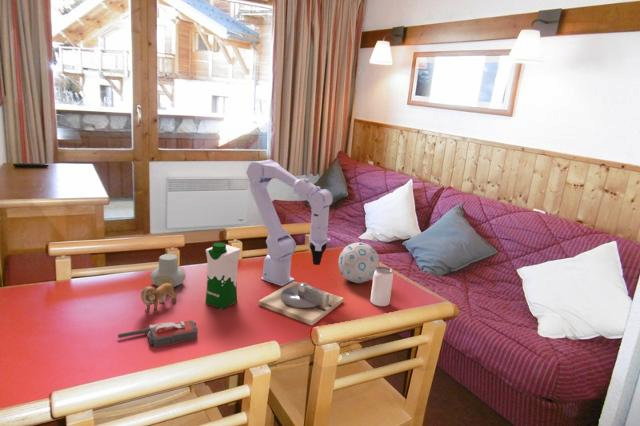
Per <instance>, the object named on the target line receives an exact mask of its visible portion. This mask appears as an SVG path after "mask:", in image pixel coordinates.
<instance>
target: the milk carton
mask: <svg viewBox="0 0 640 426" xmlns="http://www.w3.org/2000/svg"><path fill="white" fill-rule="evenodd" d="M241 251H242V249H241V248H239V247H236V246H232V245H229V244H226V243H225V242H221V241H219V242H214V243H212V246H211V247H208V248H206V249H205V253H206V255H205V256H206V261H207V269H206V270H207V272H206V275H207V277H206V291H205V292H206V293H205V304H207V305H211V306H212V307H215V308H218V309H220V310H224V309H226V308H228V307H229V306H232V305H233V304H235V303H237V302H238V291H237V290H238V289H237V288H238V287H237V281H238V266H239V265H238V264H239V259H240V255H241Z"/></svg>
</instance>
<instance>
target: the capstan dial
mask: <svg viewBox="0 0 640 426" xmlns="http://www.w3.org/2000/svg"><path fill="white" fill-rule="evenodd" d="M298 283H299V286H296V287H290V288H287V289H285V290H283V291H282V292H281V301H282V302H283V303H284V304H285V305H287V306H290V307H292V308H297V309H313V308H317V307H319V306H323V307H327V306H328V305H329V295H330V294H331V293H330V292H327V293H326V291H324V290H321V289H319V288H316V287H314V286H313V285H309V284H308V283H306V282H303V281H302V282H298ZM329 293H330V294H329Z"/></svg>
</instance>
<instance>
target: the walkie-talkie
mask: <svg viewBox="0 0 640 426" xmlns="http://www.w3.org/2000/svg"><path fill="white" fill-rule="evenodd" d="M142 334H146V335H147V338H148V343H149V345H150V346H151V345H152V346H153V348H160V347H166V346H170V345H175V344H180V343H184V342H189V341H194V340H196V339H197V338H198V328H197V323H196V322H195V321H194V320H185V321H184V320H183V321H182V320H181V321H180V322H172V321H171V322H170V321H169V322H161V323H156V324H150V325H148V327H145V328H143V329H138V330H133V331H128V332H123V333H118V334H117V338H119V339H120V338H127V337H131V336H138V335H142Z"/></svg>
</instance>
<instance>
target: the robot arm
mask: <svg viewBox="0 0 640 426" xmlns="http://www.w3.org/2000/svg"><path fill="white" fill-rule="evenodd" d="M247 166H248V167H247V169H246V176H247V178H248V182H249V190H250V192H251V195H252V198H253V200H254V202H255V205H256V207H257V209H258V212H259V214H260V217H261V219H262V221H263V224H264V226H265V229H266V232H267V234H268V235H267V238H266V240H265V244H266V245H267V249H266V250H267V255H266V256H265V257H264V260H263V263H262V264H263V267H262V277H261V278H260V279H261V280H262V281H266V282H268V283H272V284H274V285H277V286H280V287H284V286H286V285H288V284H289V283H291V282H293V281H295V278H294V277H292V276H291V267H292V266H291V265H292V257H293V253H294V252H295V251H296V248H297V243H296V241H295V240H294V238H293V237H292V236H291V234H290V232H289V231H287V230H285V229H284V228H283V225H282V223H281V221H280V218H279V215H278V214H277V210H276V209H275V205H274V204H273V201H272V198H271V196H270V194H269V191H268V186H269V184H270V182H272V180H273V178H274V179H277V180H279V181H281V182H282V183H284V184H285V185H287V186H289V187H291V188H293V193H294V194H296V195H297V196H299V197H301V198H302V199H304V200H305V201H307V202H309V205H310V208H311V209H310V210H311V216H310V230H309V231H310V232H309V233H310V234H309V239H308V240H309V250H310V252H311V257H312V263H313V265H314V266H320V265H321V261H322V258H323V255H324V252H325V251H326V249H327V243H330V242H331V238H328V229H329V217H330V216H329V214H330V205H332V203H333V201H334V196H333V194H332V192H331V191H330V190H329V189H327V188H324V189H322V188H321V186H319V185H315V184H314V183H312V182H310V179H308V178H304V177H303V178H302V177H301V178H300V179H299V178H297V177H296V176H295V175H293V174H292V173H291V172H289V171H288V170H286V169H285V168H283V167H282V166H281V165H280V164H279V162H275V161H274V160H273V159H271V158H270V159H268V158H267V159H266V160H259V161H255V160H254V161H251V162H250V163H249V165H247Z"/></svg>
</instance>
